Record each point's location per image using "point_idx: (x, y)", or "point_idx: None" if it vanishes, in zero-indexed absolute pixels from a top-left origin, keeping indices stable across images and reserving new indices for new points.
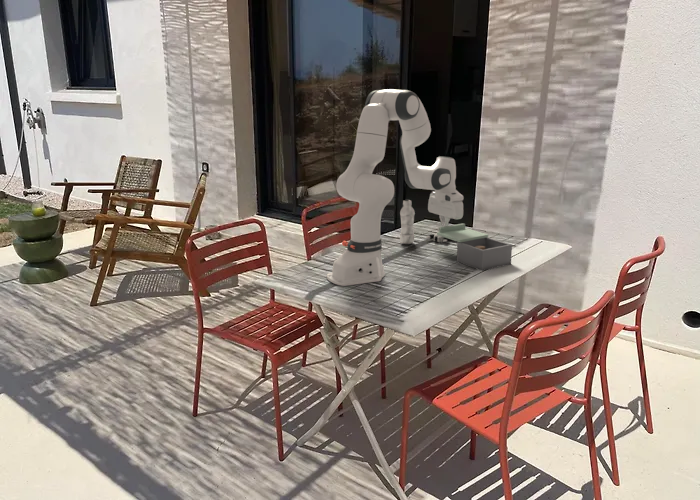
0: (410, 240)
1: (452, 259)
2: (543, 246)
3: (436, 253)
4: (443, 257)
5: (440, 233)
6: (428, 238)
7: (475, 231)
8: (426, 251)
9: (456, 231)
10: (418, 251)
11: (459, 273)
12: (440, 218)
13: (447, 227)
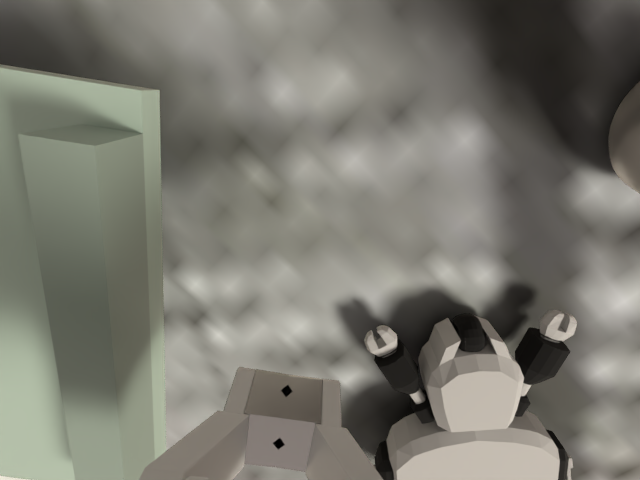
0: (636, 105)
1: (10, 55)
2: None
3: (239, 90)
4: (102, 39)
5: (45, 82)
6: (544, 314)
7: None
8: (348, 69)
9: (42, 334)
10: (404, 4)
11: None
12: (357, 475)
13: (48, 281)
